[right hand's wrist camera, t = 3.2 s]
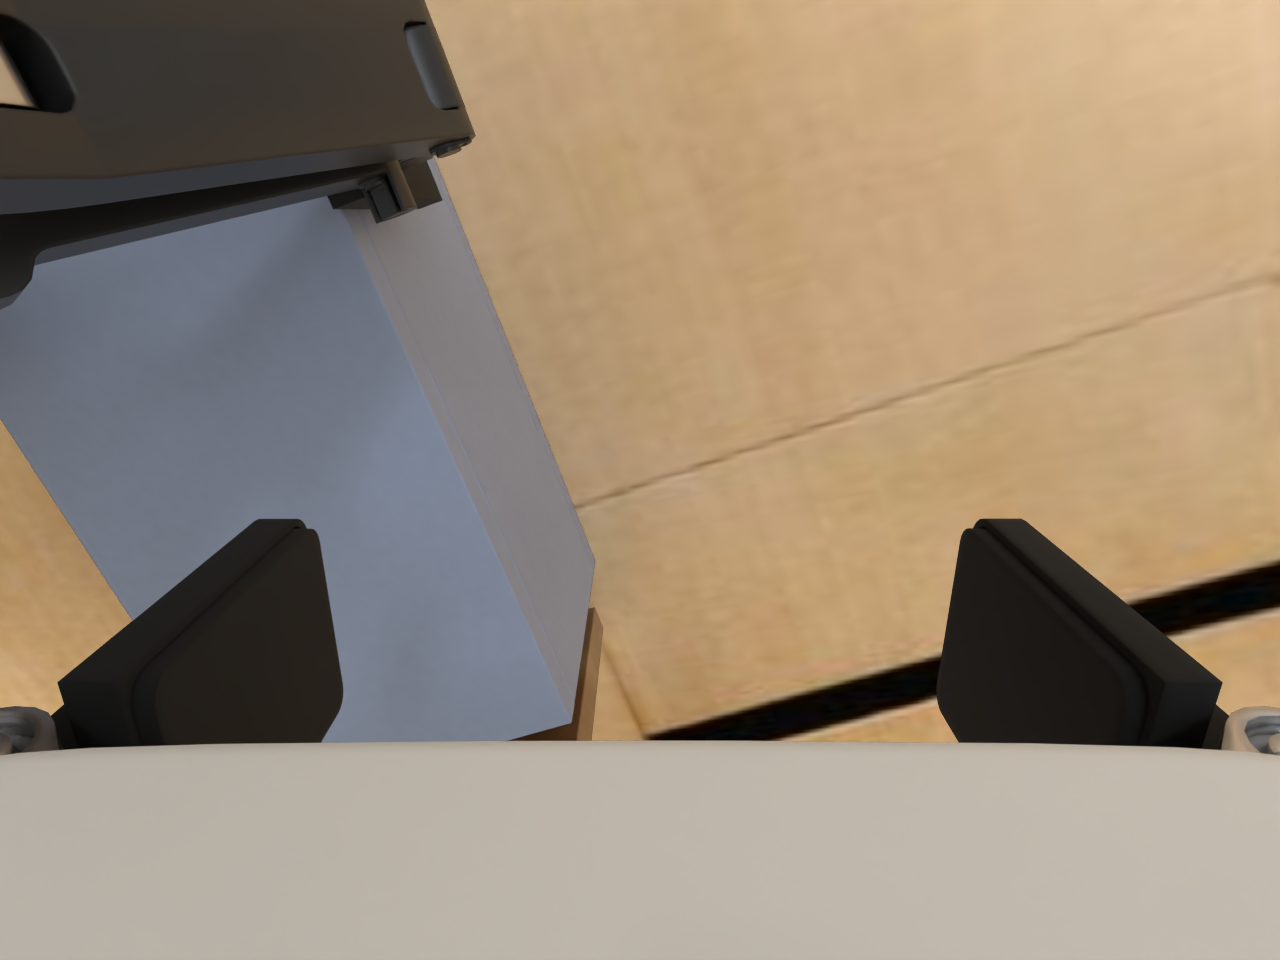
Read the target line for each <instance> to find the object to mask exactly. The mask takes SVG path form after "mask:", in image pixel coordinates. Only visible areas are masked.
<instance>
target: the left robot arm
mask: <svg viewBox="0 0 1280 960" xmlns="http://www.w3.org/2000/svg"><path fill="white" fill-rule="evenodd" d="M475 136H476V135H475V133H474V130H473V127H472V125H471V122H470V120H469V117H468V114H467V112H466V109H465V106H464V103H463V100H462V98H461V95H460V92H459V90H458V87H457V84H456V82H455V79H454V76H453V74H452V71H451V69H450V66H449V63H448V61H447V58H446V55H445V53H444V50H443V47H442V45H441V42H440V39H439V37H438V34H437V31H436V29H435V27H434V24H433V22H432V19H431V16H430V14H429V11H428V8H427V6H426V3H425V0H0V310H1V309H3V308H5V307H7V306H9V305H11V304H13V303H14V301H15V300H16V299H17V298H18V296H19V295H20V294H21V293H22V291H23V290H24V289H25V288H26V286H27V285H28V284H29V282H30V281H31V280H32V276H33V270H34V266H35V265H38V264H43V263H47V262H51V261H55V260H59V259H64V258H68V257H72V256H76V255H81V254H85V253H89V252H93V251H97V250H102V249H106V248H110V247H114V246H118V245H123V244H127V243H131V242H135V241H140V240H144V239H148V238H152V237H156V236H161V235H165V234H169V233H173V232H177V231H182V230H186V229H190V228H194V227H199V226H203V225H207V224H211V223H215V222H220V221H224V220H228V219H232V218H236V217H241V216H245V215H249V214H253V213H258V212H262V211H266V210H270V209H274V208H279V207H283V206H287V205H291V204H295V203H300V202H304V201H308V200H312V199H317V198H321V197H325V196H327V197H328V199H329V201H330V204H331V206H332V208H333V209H370V211H371V213H372V215H373V217H374V220H375V222H376V224H378V223H381V222H384V221H387V220H390V219H393V218H396V217H399V216H401V215H404V214H406V213H409V212H411V211H413V210H415V209H421V208H424V207H426V206H429V205H432V204H434V203H437V202H440V201H442V197H441V195H440V192H439V190H438V187H437V185H436V182H435V180H434V177H433V175H432V172H431V170H430V167H429V165H428V162H427V160H430V159H432V158H433V156H434V155H437V157H438V158H442V157H446V156H449V155H452V154H455V153H457V152H459V151H461V150H462V149H461V147H463V146H466V145H468V144H470V143H471V142H472V141H471V140H472V139H473V138H474V137H475Z"/></svg>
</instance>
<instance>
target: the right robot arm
mask: <svg viewBox="0 0 1280 960" xmlns="http://www.w3.org/2000/svg"><path fill="white" fill-rule="evenodd" d="M57 683H58V686H59V689H60V692H61V695H62V698H63V702H64V705H63V706H62V707H61V708H59V709H58V710H57V711H56V712H55V713H54V714H53V715H51V716H50V715H49V713H48V712H45V711H43V710H40V709H38V708H35V707H20V706H13V707H5V708H0V960H1280V708H1275V707H1267V706H1260V707H1245V708H1242V709H1240V710H1237V711H1235V712H1232V713H1231V715H1230V716H1229V715H1227V714H1226V713H1225V712H1224V711H1223V710H1222V709H1221V708H1219V707H1218V706H1217V705H1216V702H1217V698H1218V695H1219V692H1220V689H1221V686H1222V683H1223V682H1221V681H1220V680H1219V679H1218V678H1216V677H1215V676H1214V675H1213V674H1212V673H1210V672H1209V671H1208V670H1207V669H1205V668H1204V667H1203V666H1202V665H1201V664H1199V663H1198V662H1197V661H1196V660H1194V659H1193V658H1192V657H1191V656H1190V655H1188V654H1187V653H1186V652H1185V651H1184V650H1182V649H1181V648H1180V647H1179V646H1177V645H1176V644H1175V643H1174V642H1173V641H1171V640H1170V639H1169V638H1168V637H1166V636H1165V635H1164V634H1163V633H1162V632H1160V631H1159V630H1158V629H1157V628H1155V627H1154V626H1153V625H1152V624H1151V623H1149V622H1148V621H1147V620H1146V619H1144V618H1143V617H1142V616H1141V615H1140V614H1138V613H1137V612H1136V611H1135V610H1133V609H1132V608H1131V607H1130V606H1129V605H1127V604H1126V603H1125V602H1124V601H1123V600H1121V599H1120V598H1119V597H1118V596H1116V595H1115V594H1114V593H1113V592H1112V591H1110V590H1109V589H1108V588H1107V587H1105V586H1104V585H1103V584H1102V583H1101V582H1099V581H1098V580H1097V579H1096V578H1094V577H1093V576H1092V575H1091V574H1090V573H1088V572H1087V571H1086V570H1085V569H1083V568H1082V567H1081V566H1080V565H1079V564H1077V563H1076V562H1075V561H1074V560H1072V559H1071V558H1070V557H1069V556H1068V555H1066V554H1065V553H1064V552H1063V551H1062V550H1060V549H1059V548H1058V547H1057V546H1055V545H1054V544H1053V543H1052V542H1051V541H1049V540H1048V539H1047V538H1046V537H1044V536H1043V535H1042V534H1041V533H1040V532H1038V531H1037V530H1036V529H1035V528H1033V527H1032V526H1031V525H1030V524H1029V523H1027V522H1026V521H1024V520H1022V519H980V520H978V521H977V522H976V524H975V526H974V528H973V529H966V530H965V531H964V532H963V534H962V536H961V540H960V546H959V552H958V558H957V564H956V570H955V576H954V583H953V589H952V595H951V601H950V607H949V614H948V620H947V626H946V632H945V638H944V644H943V651H942V657H941V663H940V669H939V675H938V681H937V701H938V705H939V709H940V711H941V713H942V715H943V717H944V718H945V720H946V722H947V723H948V725H949V727H950V728H951V730H952V732H953V733H954V735H955V737H956V738H957V740H958V742H959V743H930V742H813V741H443V742H351V743H321V742H322V740H323V738H324V737H325V735H326V733H327V732H328V730H329V728H330V727H331V725H332V723H333V722H334V720H335V718H336V717H337V715H338V713H339V711H340V709H341V705H342V701H343V681H342V675H341V669H340V663H339V657H338V651H337V644H336V638H335V632H334V626H333V620H332V614H331V607H330V601H329V595H328V589H327V583H326V576H325V570H324V564H323V558H322V552H321V546H320V540H319V536H318V534H317V532H316V531H315V530H314V529H307V528H306V526H305V524H304V522H303V521H302V520H300V519H258V520H256V521H254V522H253V523H251V524H250V525H249V526H248V527H247V528H245V529H244V530H243V531H242V532H240V533H239V534H238V535H237V536H236V537H234V538H233V539H232V540H231V541H229V542H228V543H227V544H226V545H225V546H223V547H222V548H221V549H220V550H218V551H217V552H216V553H215V554H214V555H212V556H211V557H210V558H209V559H207V560H206V561H205V562H204V563H203V564H201V565H200V566H199V567H198V568H197V569H195V570H194V571H193V572H192V573H190V574H189V575H188V576H187V577H186V578H184V579H183V580H182V581H181V582H179V583H178V584H177V585H176V586H175V587H173V588H172V589H171V590H170V591H168V592H167V593H166V594H165V595H164V596H162V597H161V598H160V599H159V600H157V601H156V602H155V603H154V604H153V605H151V606H150V607H149V608H148V609H147V610H145V611H144V612H143V613H142V614H140V615H139V616H138V617H137V618H136V619H134V620H133V621H132V622H131V623H129V624H128V625H127V626H126V627H125V628H123V629H122V630H121V631H120V632H118V633H117V634H116V635H115V636H114V637H112V638H111V639H110V640H109V641H107V642H106V643H105V644H104V645H103V646H101V647H100V648H99V649H98V650H96V651H95V652H94V653H93V654H92V655H90V656H89V657H88V658H87V659H86V660H84V661H83V662H82V663H81V664H79V665H78V666H77V667H76V668H75V669H73V670H72V671H71V672H70V673H68V674H67V675H66V676H65V677H64V678H62V679H61V680H60V681H59V682H57Z"/></svg>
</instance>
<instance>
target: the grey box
mask: <svg viewBox="0 0 1280 960" xmlns="http://www.w3.org/2000/svg"><path fill="white" fill-rule="evenodd" d="M427 162H428V165H429V167H430V170H431V172H432V175H433V177H434V180H435V182H436V185H437V187H438V190H439V192H440V195H441V197H442V201H440V202H437V203H434V204H432V205H429V206H426V207H424V208H421V209H415V210H413V211H411V212H409V213H406V214H404V215H401V216H399V217H396V218H393V219H390V220H387V221H384V222H381V223H378V224H376V222H375V220H374V217H373V215H372V213H371V211H370V209H333V208H332V206H331V204H330V201H329V199H328V197H327V196H325V197H321V198H317V199H312V200H308V201H304V202H300V203H295V204H291V205H287V206H283V207H279V208H274V209H270V210H266V211H262V212H258V213H253V214H249V215H245V216H241V217H236V218H232V219H228V220H224V221H220V222H215V223H211V224H207V225H203V226H199V227H194V228H190V229H186V230H182V231H177V232H173V233H169V234H165V235H161V236H156V237H152V238H148V239H144V240H140V241H135V242H131V243H127V244H123V245H118V246H114V247H110V248H106V249H102V250H97V251H93V252H89V253H85V254H81V255H76V256H72V257H68V258H64V259H59V260H55V261H51V262H47V263H43V264H38V265H35V266H34V270H33V276H32V280H31V281H30V282H29V284H28V285H27V286H26V288H25V289H24V290H23V291H22V293H21V294H20V295H19V296H18V298H17V299H16V300H15V301H14V303H13V304H11V305H9V306H7V307H5V308H3V309H1V310H0V419H1V421H2V422H3V424H4V425H5V427H6V428H7V430H8V431H9V433H10V434H11V436H12V437H13V439H14V440H15V442H16V444H17V445H18V447H19V448H20V450H21V451H22V453H23V454H24V456H25V457H26V459H27V460H28V462H29V463H30V465H31V466H32V468H33V470H34V471H35V473H36V474H37V476H38V477H39V479H40V480H41V482H42V483H43V485H44V486H45V488H46V489H47V491H48V492H49V494H50V496H51V497H52V499H53V500H54V502H55V503H56V505H57V506H58V508H59V509H60V511H61V512H62V514H63V515H64V517H65V518H66V520H67V522H68V523H69V525H70V526H71V528H72V529H73V531H74V532H75V534H76V535H77V537H78V538H79V540H80V541H81V543H82V544H83V546H84V547H85V549H86V551H87V552H88V554H89V555H90V557H91V558H92V560H93V561H94V563H95V564H96V566H97V567H98V569H99V570H100V572H101V573H102V575H103V577H104V578H105V580H106V581H107V583H108V584H109V586H110V587H111V589H112V590H113V592H114V593H115V595H116V596H117V598H118V599H119V601H120V603H121V604H122V606H123V607H124V609H125V610H126V612H127V613H128V615H129V616H130V618H131V619H132V621H133V620H134V619H136V618H137V617H138V616H139V615H140V614H142V613H143V612H144V611H145V610H147V609H148V608H149V607H150V606H151V605H153V604H154V603H155V602H156V601H157V600H159V599H160V598H161V597H162V596H164V595H165V594H166V593H167V592H168V591H170V590H171V589H172V588H173V587H175V586H176V585H177V584H178V583H179V582H181V581H182V580H183V579H184V578H186V577H187V576H188V575H189V574H190V573H192V572H193V571H194V570H195V569H197V568H198V567H199V566H200V565H201V564H203V563H204V562H205V561H206V560H207V559H209V558H210V557H211V556H212V555H214V554H215V553H216V552H217V551H218V550H220V549H221V548H222V547H223V546H225V545H226V544H227V543H228V542H229V541H231V540H232V539H233V538H234V537H236V536H237V535H238V534H239V533H240V532H242V531H243V530H244V529H245V528H247V527H248V526H249V525H250V524H251V523H253V522H254V521H256V520H258V519H300V520H302V521H303V522H304V524H305V526H306V528H307V529H314V530H315V531H316V532H317V534H318V536H319V540H320V546H321V552H322V558H323V564H324V570H325V576H326V583H327V589H328V595H329V601H330V607H331V614H332V620H333V626H334V632H335V638H336V644H337V651H338V657H339V663H340V669H341V675H342V681H343V701H342V705H341V709H340V711H339V713H338V715H337V717H336V718H335V720H334V722H333V723H332V725H331V727H330V728H329V730H328V732H327V733H326V735H325V737H324V738H323V740H322V742H321V743H351V742H443V741H508V740H512V739H515V738H519V737H522V736H526V735H530V734H533V733H537V732H540V731H544V730H547V729H551V728H555V727H558V726H562V725H565V724H569V723H571V722H572V717H573V711H574V704H575V702H574V701H575V696H576V689H577V682H578V676H579V669H580V662H581V655H582V648H583V642H584V635H585V628H586V621H587V614H588V607H589V601H590V594H591V587H592V580H593V573H594V566H595V558H594V556H593V553H592V551H591V548H590V546H589V543H588V541H587V538H586V536H585V533H584V531H583V528H582V526H581V523H580V521H579V518H578V516H577V513H576V511H575V508H574V506H573V503H572V501H571V498H570V496H569V493H568V491H567V488H566V486H565V483H564V481H563V478H562V476H561V473H560V471H559V468H558V466H557V463H556V461H555V458H554V456H553V453H552V451H551V448H550V446H549V443H548V441H547V438H546V436H545V433H544V431H543V428H542V426H541V423H540V421H539V418H538V416H537V413H536V411H535V408H534V406H533V403H532V401H531V398H530V396H529V393H528V391H527V388H526V386H525V383H524V381H523V378H522V376H521V373H520V371H519V368H518V366H517V363H516V361H515V358H514V356H513V353H512V351H511V348H510V346H509V343H508V341H507V338H506V336H505V333H504V331H503V328H502V326H501V323H500V321H499V318H498V316H497V313H496V311H495V308H494V306H493V303H492V301H491V298H490V296H489V293H488V291H487V288H486V286H485V283H484V281H483V278H482V276H481V273H480V271H479V268H478V266H477V263H476V261H475V258H474V256H473V253H472V251H471V248H470V246H469V243H468V241H467V238H466V236H465V233H464V231H463V228H462V226H461V223H460V221H459V218H458V216H457V213H456V211H455V208H454V206H453V203H452V201H451V198H450V196H449V193H448V191H447V188H446V186H445V183H444V181H443V178H442V176H441V173H440V171H439V168H438V166H437V163H436V161H435V158H434V156H433V158H432V159H430V160H427Z"/></svg>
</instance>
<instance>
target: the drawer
mask: <svg viewBox="0 0 1280 960" xmlns="http://www.w3.org/2000/svg"><path fill="white" fill-rule="evenodd" d="M602 635H603V626H602V624H601V621H600V619H599V616H598V614H597V611H596V609H595V608H590V609H588V614H587V621H586V628H585V635H584V642H583V648H582V655H581V662H580V669H579V676H578V682H577V689H576V696H575V701H574V702H575V704H574V711H573V717H572V722H571V723H569V724H565V725H562V726H558V727H555V728H551V729H547V730H544V731H540V732H537V733H533V734H530V735H526V736H522V737H519V738H515V739H512V740H508V741H591V740H592V731H593V721H594V712H595V702H596V692H597V683H598V673H599V664H600V654H601V645H602Z"/></svg>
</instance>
